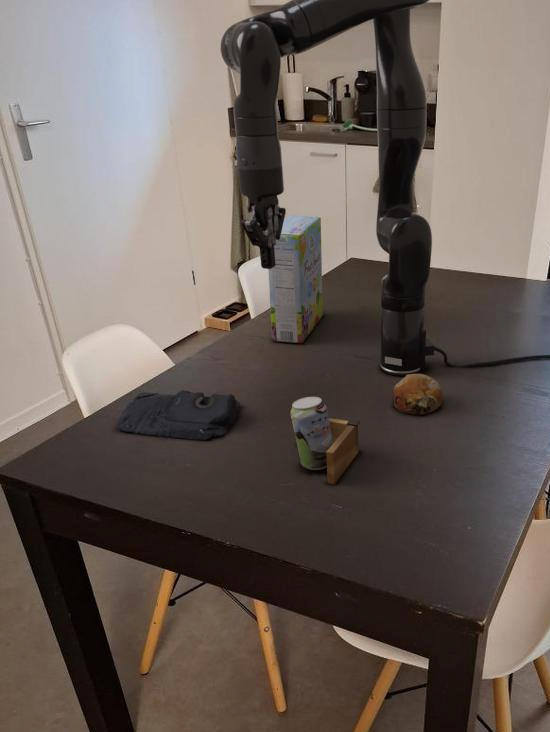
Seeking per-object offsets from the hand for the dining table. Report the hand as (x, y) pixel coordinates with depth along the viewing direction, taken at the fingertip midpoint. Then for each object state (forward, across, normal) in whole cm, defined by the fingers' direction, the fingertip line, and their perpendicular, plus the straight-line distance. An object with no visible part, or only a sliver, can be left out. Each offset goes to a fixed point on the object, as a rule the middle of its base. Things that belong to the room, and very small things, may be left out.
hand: (268, 267), depth 126 cm
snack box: (+27, +40, +14) cm, 51 cm away
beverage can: (+27, -21, -17) cm, 38 cm away
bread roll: (+27, +7, -27) cm, 39 cm away
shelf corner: (+27, -20, -17) cm, 38 cm away
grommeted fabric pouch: (+27, -14, +15) cm, 34 cm away
